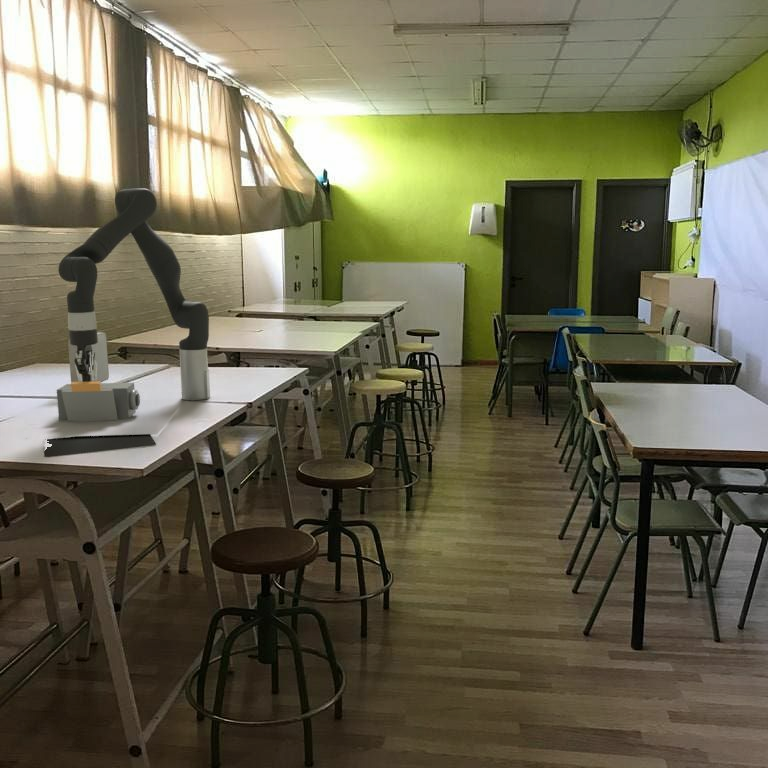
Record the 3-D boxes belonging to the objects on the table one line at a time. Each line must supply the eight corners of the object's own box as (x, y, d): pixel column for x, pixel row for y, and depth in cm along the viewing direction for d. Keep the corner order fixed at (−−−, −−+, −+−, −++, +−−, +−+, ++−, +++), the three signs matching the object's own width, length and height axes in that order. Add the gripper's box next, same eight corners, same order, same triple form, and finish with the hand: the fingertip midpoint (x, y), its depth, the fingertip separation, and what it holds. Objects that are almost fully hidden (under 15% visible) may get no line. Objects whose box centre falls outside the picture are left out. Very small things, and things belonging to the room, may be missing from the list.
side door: (118, 418, 224) (111, 381, 217) (117, 420, 223) (110, 383, 216) (69, 419, 223) (60, 382, 216) (68, 422, 222) (59, 384, 215)
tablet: (147, 428, 214) (157, 444, 196) (147, 431, 214) (157, 447, 196) (43, 439, 203) (44, 457, 185) (43, 442, 203) (44, 460, 185)
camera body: (142, 414, 235) (141, 382, 233) (136, 421, 225) (134, 388, 224) (69, 416, 233) (66, 384, 231) (59, 423, 223) (56, 389, 221)
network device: (88, 395, 266) (84, 339, 263) (64, 395, 267) (60, 339, 263) (115, 383, 292) (111, 332, 288) (92, 383, 292) (89, 332, 288)
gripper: (89, 330, 209) (94, 391, 212) (102, 324, 222) (106, 382, 225) (61, 330, 208) (67, 392, 212) (75, 325, 221) (80, 383, 224)
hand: (87, 387), depth 218 cm, fingers closed
